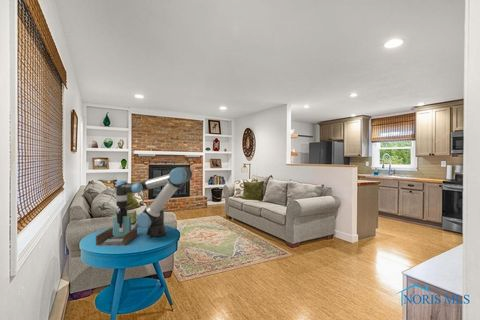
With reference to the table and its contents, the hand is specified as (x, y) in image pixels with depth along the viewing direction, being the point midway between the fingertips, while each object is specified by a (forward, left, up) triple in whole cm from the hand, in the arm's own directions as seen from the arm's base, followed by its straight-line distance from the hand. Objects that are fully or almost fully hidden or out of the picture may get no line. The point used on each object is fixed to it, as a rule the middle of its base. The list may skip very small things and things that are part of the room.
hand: (122, 230), depth 186 cm
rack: (0, +7, -6) cm, 9 cm away
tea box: (+11, -30, -7) cm, 33 cm away
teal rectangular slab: (0, 0, -4) cm, 4 cm away
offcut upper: (0, +12, -5) cm, 13 cm away
